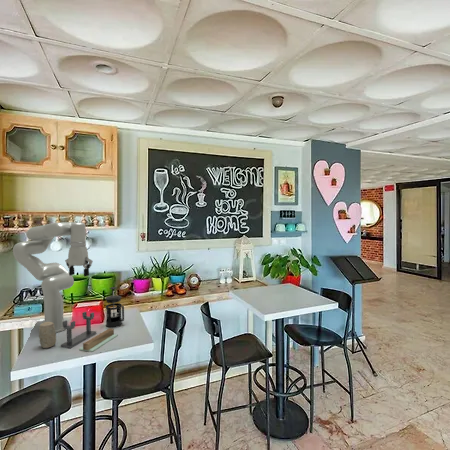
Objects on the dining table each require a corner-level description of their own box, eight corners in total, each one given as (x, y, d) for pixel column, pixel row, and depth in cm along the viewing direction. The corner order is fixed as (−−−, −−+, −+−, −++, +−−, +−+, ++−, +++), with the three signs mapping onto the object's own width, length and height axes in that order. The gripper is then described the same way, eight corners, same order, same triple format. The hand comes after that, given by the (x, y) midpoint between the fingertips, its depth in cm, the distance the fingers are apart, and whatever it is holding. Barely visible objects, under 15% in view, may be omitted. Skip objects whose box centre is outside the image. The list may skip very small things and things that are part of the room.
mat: (79, 350, 146) (79, 348, 145) (105, 334, 165) (105, 333, 165) (92, 351, 143) (92, 350, 143) (117, 335, 163) (117, 334, 163)
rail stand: (60, 347, 149) (60, 322, 149) (87, 332, 167) (86, 310, 167) (70, 348, 147) (69, 323, 147) (96, 333, 166) (95, 311, 165)
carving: (42, 344, 152) (41, 321, 152) (58, 343, 154) (57, 320, 153) (37, 350, 146) (36, 326, 145) (54, 348, 148) (53, 324, 147)
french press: (101, 327, 175) (100, 288, 175) (110, 321, 185) (110, 285, 184) (119, 328, 173) (118, 289, 172) (127, 322, 182) (127, 286, 181)
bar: (83, 349, 145) (83, 343, 145) (109, 333, 164) (109, 328, 164) (88, 350, 144) (88, 344, 144) (113, 334, 163) (113, 328, 163)
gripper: (60, 245, 162) (61, 276, 162) (86, 245, 157) (87, 277, 158) (70, 243, 169) (71, 273, 170) (96, 244, 165) (96, 274, 165)
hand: (79, 275), depth 164 cm, fingers open, 9 cm apart
